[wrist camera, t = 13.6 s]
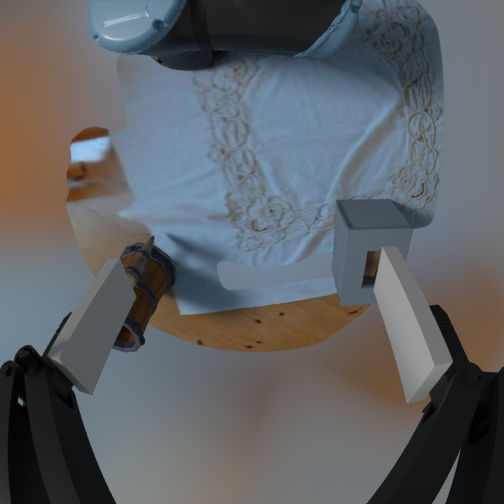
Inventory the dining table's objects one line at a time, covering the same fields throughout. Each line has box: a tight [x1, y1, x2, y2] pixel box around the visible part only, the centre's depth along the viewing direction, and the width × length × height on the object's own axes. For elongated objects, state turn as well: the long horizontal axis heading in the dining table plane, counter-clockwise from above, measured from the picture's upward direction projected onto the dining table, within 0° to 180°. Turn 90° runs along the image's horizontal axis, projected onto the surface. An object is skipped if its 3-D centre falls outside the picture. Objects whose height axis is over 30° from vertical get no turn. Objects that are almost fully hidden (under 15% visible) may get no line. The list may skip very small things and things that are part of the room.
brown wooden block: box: [364, 251, 381, 276], centre depth 50 cm, size 6×3×8 cm, turn 177°
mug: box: [112, 236, 176, 352], centre depth 53 cm, size 19×14×20 cm
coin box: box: [332, 200, 413, 306], centre depth 49 cm, size 16×11×11 cm
